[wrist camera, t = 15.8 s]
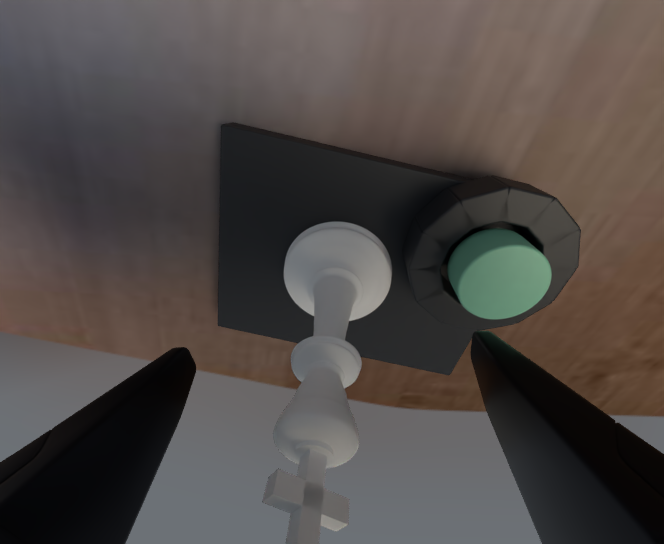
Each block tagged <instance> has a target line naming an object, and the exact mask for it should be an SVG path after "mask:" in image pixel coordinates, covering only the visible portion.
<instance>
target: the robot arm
mask: <svg viewBox="0 0 664 544" xmlns="http://www.w3.org/2000/svg"><path fill="white" fill-rule="evenodd" d="M471 360H472V363H473V367H474V370H475V374H476V377H477V380H478V384H479V387H480V391H481V394H482V398H483V401H484V404H485V407H486V411H487V413H488V416H489V418H490V421H491V423H492V426H493V427H494V430H495V432H496V435H497V437H498V440H499V442H500V444H501V447H502V449H503V452H504V454H505V456H506V459H507V461H508V464H509V466H510V468H511V471H512V473H513V475H514V478H515V480H516V483H517V485H518V487H519V490H520V492H521V495H522V497H523V499H524V502H525V504H526V506H527V509H528V511H529V513H530V516H531V518H532V521H533V523H534V526H535V528H536V530H537V533H538V535H539V537H540V539H541V542H542V544H664V454H663V453H661V452H660V451H658V450H657V449H655V448H654V447H653V446H651V445H649V444H648V443H647V442H645V441H644V440H642V439H641V438H639V437H638V436H636V435H635V434H634V433H632V432H631V431H629V430H628V429H627V428H625V427H624V426H622V425H621V424H620V423H615V420H614V419H612V418H611V417H610V416H608V415H607V414H605V413H604V412H603V411H601V410H600V409H598V408H597V407H596V406H594V405H593V404H591V403H590V402H589V401H587V400H586V399H584V398H583V397H582V396H580V395H579V394H577V393H576V392H575V391H573V390H572V389H570V388H569V387H567V386H566V385H565V384H563V383H562V382H560V381H559V380H558V379H556V378H555V377H553V376H552V375H551V374H549V373H548V372H546V371H545V370H544V369H542V368H541V367H539V366H538V365H537V364H535V363H534V362H532V361H531V360H530V359H528V358H527V357H525V356H524V355H522V354H521V353H520V352H518V351H517V350H515V349H514V348H513V347H511V346H510V345H508V344H507V343H506V342H504V341H503V340H501V339H500V338H499V337H497V336H496V335H494V334H493V333H492V332H490V331H475V332H474V333H473V336H472V345H471ZM195 373H196V364H195V362H194V360H193V358H192V356H191V354H190V352H189V350H188V349H187V348H185V347H178V348H172V349H171V350H169V351H168V352H166V353H165V354H163V355H162V356H160V357H159V358H157V359H156V360H154V361H153V362H151V363H150V364H148V365H147V366H145V367H144V368H142V369H141V370H139V371H138V372H136V373H135V374H133V375H132V376H130V377H129V378H127V379H126V380H124V381H123V382H121V383H120V384H118V385H117V386H115V387H114V388H112V389H111V390H109V391H108V392H106V393H105V394H103V395H102V396H100V397H99V398H97V399H96V400H94V401H93V402H91V403H90V404H88V405H87V406H85V407H84V408H82V409H81V410H79V411H78V412H76V413H75V414H73V415H72V416H70V417H69V418H67V419H66V420H64V421H63V422H61V423H60V424H58V425H57V426H55V427H54V428H53V429H52V430H49V431H48V432H46V433H45V434H43V435H42V436H40V437H39V438H37V439H36V440H34V441H33V442H31V443H30V444H28V445H27V446H25V447H23V448H22V449H21V450H19V451H17V452H16V453H14V454H13V455H11V456H10V457H8V458H6V459H5V460H3V461H2V462H0V544H125V543H126V541H127V538H128V536H129V534H130V532H131V529H132V527H133V525H134V523H135V520H136V518H137V516H138V513H139V511H140V509H141V507H142V504H143V502H144V500H145V498H146V495H147V493H148V491H149V488H150V486H151V484H152V482H153V479H154V477H155V475H156V472H157V470H158V468H159V466H160V463H161V461H162V459H163V457H164V454H165V452H166V450H167V448H168V445H169V443H170V441H171V438H172V436H173V434H174V432H175V429H176V427H177V424H178V422H179V420H180V418H181V415H182V412H183V409H184V406H185V403H186V400H187V397H188V394H189V391H190V388H191V385H192V382H193V379H194V376H195Z"/></svg>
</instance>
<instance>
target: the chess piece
mask: <svg viewBox="0 0 664 544" xmlns="http://www.w3.org/2000/svg"><path fill="white" fill-rule="evenodd" d="M391 277H392V264H391V259H390V256H389V253H388V251H387V249H386V248H385V246H384V245H383V243H382V242H381V241H380V240H379V239H378V238H377V237H376V236H375V235H374V234H373V233H371V232H370V231H368V230H367V229H365V228H363V227H361V226H358V225H355V224H352V223H347V222H326V223H321V224H318V225H315V226H313V227H310V228H309V229H307V230H305V231H304V232H302V233H301V234H300V235H299V236H298V237H297V238H296V239H295V240H294V241H293V243H292V244H291V246H290V247H289V249H288V252H287V255H286V258H285V265H284V281H285V285H286V288H287V291H288V293H289V294H290V296H291V298H292V299H293V300H294V302H295V303H296V304H297V305H298V306H299V307H300V308H302V309H303V310H304V311H306V312H307V313H309V314H311V315H312V316H314V334H313V336H312V337H308V338H306V339H304V340H302V341H301V342H299V343H298V344H297V345H296V346H295V348H294V349H293V351H292V354H291V364H292V370H293V373H294V375H295V376H296V377H297V379H298V380H299V381H300V382H302V383H301V385H300V386H299V387H298V389H297V391H296V394H295V395H294V397H293V399H292V400H291V402H290V403H289V405H288V406H287V407H286V408H285V409H284V411H283V413H282V414H281V416H280V417H279V419H278V421H277V423H276V425H275V428H274V432H273V438H274V442H275V445H276V447H277V448H278V450H279V451H280V452H281V453H282V454H283V455H284V456H285V457H286V458H288V459H289V460H291V461H292V462H294V463H296V464H299V467H298V474H297V476H295V475H292V474H290V473H288V472H285V471H283V470H281V469H278V470H276V471H275V472H274V473H273V474H272V475H270V476H269V477H268V481H267V485H266V489H265V493H264V497H263V501H262V502H263V503H265V504H268V505H271V506H273V507H275V508H278V509H280V510H283V511H286V512H288V513H290V514H291V515H290V521H289V527H288V532H287V538H286V544H319V536H320V526H323V527H326V528H328V529H331V530H333V531H338V530H340V529H342V528H343V527H345V526H347V525H348V524H349V522H348V521H349V499H348V498H346V497H343V496H341V495H338V494H336V493H334V492H332V491H329V490H327V489H324V483H325V472H326V468H332V467H336V466H339V465H342V464H344V463H346V462H347V461H349V460H350V459H351V458H352V457H353V456H354V455H355V454H356V452H357V450H358V447H359V434H358V430H357V426H356V423H355V420H354V417H353V415H352V413H351V411H350V407H349V404H348V401H347V395H346V392H345V389H344V388H347V387H348V386H350V385H351V384H353V383H354V382H355V380H356V379H357V377H358V375H359V372H360V370H361V365H362V362H361V357H360V355H359V353H358V351H357V350H356V348H355V347H354V346H353V345H351V344H350V343H349V342H347V341H345V337H346V332H347V328H348V323H349V321H352V320H356V319H359V318H362V317H364V316H366V315H368V314H370V313H371V312H373V311H374V310H375V309H376V308H377V307H378V306H379V305H380V304H381V303H382V302H383V301H384V299H385V298H386V296H387V294H388V291H389V289H390V285H391Z"/></svg>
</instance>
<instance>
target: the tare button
mask: <svg viewBox="0 0 664 544" xmlns="http://www.w3.org/2000/svg"><path fill="white" fill-rule="evenodd" d="M447 274H448V278H449V281H450V283H451V285H452V287H453V289H454V291H455V293H456V295H457V297H458V299H459V301H460V303H461V304H462V306H463V307H464V308H465V309H466V310H467V311H469V312H470V313H472V314H473V315H476V316H478V317H481V318H485V319H505V318H510V317H513V316H516V315H519V314H521V313H523V312H525V311H527V310H529V309H530V308H532V307H533V306H534V305H536V304H537V303H538V302H539V301H540V300H541V299H542V297H543V296H544V295H545V293H546V292H547V290H548V288H549V286H550V282H551V276H552V274H551V267H550V264H549V262H548V260H547V258H546V257H545V256H544V255H543V254H542V253H541V252H540V251H539V250H538V249H536V248H535V247H534V246H533V245H532V244H530V243H529V242H528V241H527V240H526V239H525V238H523V237H522V236H521V235H519V234H518V233H516V232H514V231H511V230H508V229H502V228H494V229H486V230H482V231H479V232H477V233H474V234H472V235H470V236H469V237H467V238H466V239H464V240H463V241H462V242H461V243H460V244H459V245H458V246H457V247H456V248H455V249H454V251H453V252H452V254H451V256H450V259H449V261H448V266H447Z"/></svg>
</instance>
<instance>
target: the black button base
mask: <svg viewBox="0 0 664 544" xmlns="http://www.w3.org/2000/svg"><path fill="white" fill-rule="evenodd" d="M326 222H347V223H352V224H355V225H358V226H361V227H363V228H365V229H367V230H368V231H370V232H371V233H373V234H374V235H375V236H376V237H377V238H378V239H379V240H380V241H381V242H382V243H383V245H384V246H385V248H386V249H387V251H388V253H389V256H390V259H391V264H392V277H391V285H390V289H389V291H388V294H387V296H386V298H385V299H384V301H383V302H382V303H381V304H380V305H379V306H378V307H377V308H376V309H375V310H374V311H373V312H371V313H370V314H368V315H366V316H364V317H362V318H359V319H356V320H352V321H349V323H348V328H347V332H346V337H345V341H347V342H349V343H350V344H351V345H353V346H354V347H355V348H356V350H357V351H358V353H359V355H360V356H361V357H366V358H370V359H375V360H380V361H384V362H389V363H394V364H398V365H403V366H408V367H412V368H417V369H422V370H426V371H431V372H436V373H440V374H445V375H450V374H451V372H452V370H453V369H454V367H455V365H456V364H457V362H458V360H459V359H460V357H461V355H462V354H463V352H464V350H465V349H466V347H467V345H468V344H469V342H470V340H471V339H472V336H473V333H474V332H475V331H476V330H477V331H480V330H485V329H491V328H496V327H502V326H507V325H513V324H515V323H519V322H520V321H522V320H524V319H525V318H527V317H529V316H530V315H532V314H534V313H535V312H537V311H539V310H541V309H542V308H544V307H546V306H547V305H549V304H551V303H552V301H554V300H555V298H556V297H557V296H558V294H559V293H560V292H561V290H562V289H563V287H564V286H565V285H566V283H567V282H568V280H569V279H570V278H571V276H572V275H573V273H574V272H575V271H576V269H577V268H578V263H579V248H580V233H581V230H580V227H579V226H578V225H577V223H576V222H575V221H574V219H573V218H572V217H571V216H570V214H569V213H568V212H567V211H566V209H565V208H564V207H563V206H562V204H561V203H560V202H559V200H558V199H557V198H555V197H553V196H552V195H550V194H548V193H545V192H543V191H541V190H539V189H537V188H535V187H533V186H531V185H529V184H526V183H522V182H518V181H513V180H509V179H505V178H501V177H497V176H485V177H482V178H478V179H475V180H474V179H470V178H466V177H461V176H457V175H453V174H449V173H444V172H440V171H436V170H432V169H427V168H423V167H419V166H415V165H411V164H406V163H402V162H398V161H394V160H389V159H385V158H381V157H377V156H373V155H368V154H364V153H360V152H356V151H351V150H347V149H343V148H339V147H334V146H330V145H326V144H322V143H318V142H313V141H309V140H305V139H301V138H296V137H292V136H288V135H284V134H280V133H275V132H271V131H267V130H263V129H258V128H254V127H250V126H246V125H241V124H237V123H228V124H223V125H221V171H220V226H219V282H218V326H221V327H226V328H230V329H235V330H240V331H244V332H249V333H254V334H258V335H263V336H268V337H272V338H277V339H282V340H286V341H291V342H296V343H299V342H301V341H302V340H304V339H306V338H308V337H312V336H313V334H314V316H312V315H311V314H309V313H307V312H306V311H304V310H303V309H302V308H300V307H299V306H298V305H297V304H296V303H295V302H294V300H293V299H292V298H291V296H290V294H289V293H288V291H287V288H286V285H285V281H284V265H285V258H286V255H287V252H288V249H289V247H290V246H291V244H292V243H293V241H294V240H295V239H296V238H297V237H298V236H299V235H300V234H301V233H302V232H304V231H305V230H307V229H309V228H310V227H313V226H315V225H318V224H321V223H326ZM494 228H502V229H508V230H511V231H514V232H516V233H518V234H519V235H521V236H522V237H523V238H525V239H526V240H527V241H528V242H529V243H530V244H532V245H533V246H534V247H535V248H536V249H538V250H539V251H540V252H541V253H542V254H543V255H544V256H545V257H546V258H547V260H548V262H549V264H550V267H551V274H552V276H551V282H550V286H549V288H548V290H547V292H546V293H545V295H544V296H543V297H542V299H541V300H540V301H539V302H538V303H537V304H536V305H534V306H533V307H532V308H530V309H529V310H527V311H525V312H523V313H521V314H519V315H516V316H513V317H510V318H505V319H485V318H481V317H478V316H476V315H473V314H472V313H470V312H469V311H467V310H466V309H465V308H464V307H463V306H462V304H461V303H460V301H459V299H458V297H457V295H456V293H455V291H454V289H453V287H452V285H451V283H450V281H449V278H448V274H447V266H448V261H449V259H450V256H451V254H452V252H453V251H454V249H455V248H456V247H457V246H458V245H459V244H460V243H461V242H462V241H463V240H464V239H466V238H467V237H469V236H470V235H472V234H474V233H477V232H479V231H482V230H486V229H494Z"/></svg>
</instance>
